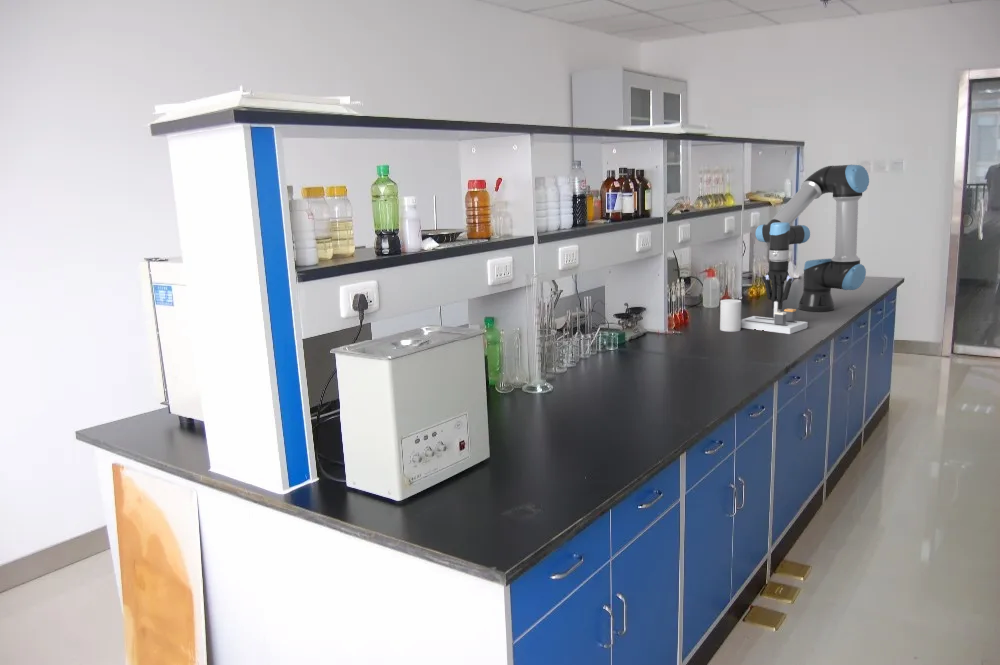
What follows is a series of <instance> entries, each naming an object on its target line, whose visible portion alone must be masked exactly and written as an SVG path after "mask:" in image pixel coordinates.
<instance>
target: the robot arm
mask: <svg viewBox="0 0 1000 665" xmlns="http://www.w3.org/2000/svg"><path fill="white" fill-rule="evenodd" d="M869 184H870V176H869V172H868V171H867V169H866V168H865V166H863V165H860V164H843V165H828V166H824V167H822V168H819V169H818V170H815V172H813V173H812V174H811V175H809V176H808V177H807V178H806V179H805V180H804V181H803V182H802V183H801V185H800V188H799V190H798V191H797V192H796V193H795V194H794V195H793V196H792V197H791V198H790V199H789V200H788V201H787V202H786V203H785V205H784V206H782V208H781V209H780V210H779V211H777V213H776V214H775V215H774V216H773V217H772V218H771V219H770V221H768V223H767V224H765V223H764V224H760V225H758V226H757V227H756V229H755V238H756V240H757V241H758V242H762V243H767V244H768V243H769V251H768V252H769V253H768V254H769V255H768V259H769V261H768V272H767V274H766V275H764V276H762V277H761V278H762V281H763V282H764V286H765V292H766V297H767V299H768V300H770V301H771V309H773V316H774V315H775V312H778V311H779V312H781V310H782V309H783V302H784V301H787V300H788V299H789V295H790V290H791V286H792V284H793V282H794V281H795V278H794V277H792V276H790V274H789V273H790V272H789V261H788V260H789V258H790V254H789V253H790V245H800V244H803V243H804V244H805V243H806V242H808V241H809V239H810V237H811V230H810V228H809V227H808V226H806V225H801V224H798V225H792V224H793V223H794V222H795V220H797V218H798V217H800V215H801V214H802V213H803V212H804V211H805V210H806V209H807V208H808V207H809V206H810V205H811V204H812V203H813V201H814V200H816V199H819V198H820V197H821V196H822V195H824V194H829V193H832V199H834V200H835V201H836V205H835V208H836V209H835V211H836V212H835V239H834V240H835V241H834V242H835V243H834V244H835V246H834V247H835V248H834V256H833V257H832V258H820V259H819V258H818V259H810V260H806V261H805V263H804V268H803V285H802V286H803V290H802V291H803V292H802V295H801V296H800V300H799V303H798V309H799V310H801V311H806V312H830V311H834V310H835V304H834V303H835V302H834V299H833V296H832V292H831V290H832V289H836V290H837V289H838V290H844V291H855V290H857V289H859V288H860V287H861V286H862V285H863V284H864V282H865V279H866V274H867V269H866V268H865V266H864V265H863V264H862V263H861V258H860V257H859V256H858V255H857V249H858V224H859V223H858V222H859V221H858V220H859V217H858V214H859V200H860V199H861V198H862V197H863V193H864V192H866V191H867V190H868V186H869ZM785 281H786V283H785ZM784 286H785V287H784Z"/></svg>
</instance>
